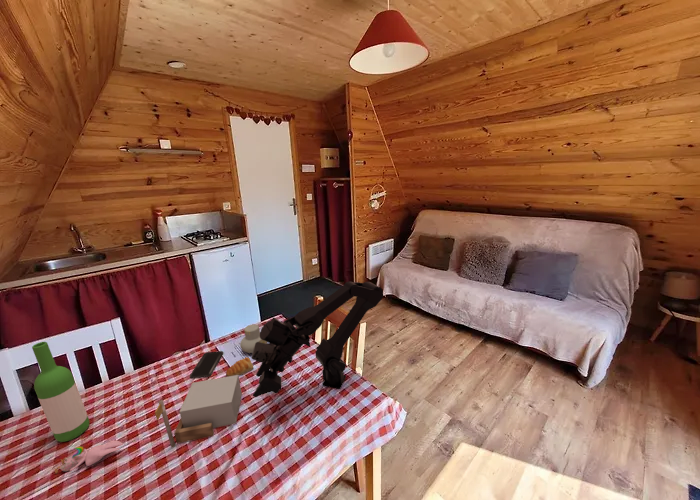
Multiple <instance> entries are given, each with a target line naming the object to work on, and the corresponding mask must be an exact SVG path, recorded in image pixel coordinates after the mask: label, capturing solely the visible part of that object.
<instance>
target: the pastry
mask: <svg viewBox="0 0 700 500" xmlns="http://www.w3.org/2000/svg"><path fill="white" fill-rule="evenodd" d="M253 369H254V365H253V362H252V361H251V358H249V357H247V356H245V357H244V358H242V359H239V360H237V361H236V362H234V364H232V365H230V366H229V367H228V368H227V369H226V372H225V375H226V377H229V376H235V375H238V376H239V377H240V376H242V375H244V374H247V373H249V372H251V371H252V370H253Z"/></svg>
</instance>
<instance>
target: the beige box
mask: <svg viewBox="0 0 700 500" xmlns="http://www.w3.org/2000/svg"><path fill="white" fill-rule="evenodd" d="M242 397H243V393H242V388H241V381H240V375H239V376H238V375H235V376H229V377H228V376H225V377H224V376H223V377H217V378H211V379H207V380H201V381H194V382H192V383H191V385H190V386H189V389H188V393H187V394H186V396H185V399H184V401H183V403H182V406H181V407H180V410H179V416H180V419H181V420H182V423H183V427H184V428H188V427H193V426H198V425H203V424H208V423H212V426H213V429H216V428H220V427H224V426H230V425H231V426H232V425H235V424H237V422H238V421H237V419H238V415H239V412H240V411H239V410H240V406H241V400H242Z"/></svg>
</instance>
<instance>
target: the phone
mask: <svg viewBox="0 0 700 500" xmlns="http://www.w3.org/2000/svg"><path fill="white" fill-rule="evenodd" d="M222 355H224V351H222V350H220V351H218V350H217V351H208V352H204V353H203V355H202V356H201V358H200V359H199V360H198V362H197V363H196V365H195V367H194V369H193V370H192V371H191V373H190V375H189V379H191V380H194V379H202V378H203V379H204V378H209V377H211V376H212V375H213V373H214V372H215V370H216V368H217V366H218V364H219V363H220V361H221V359H222V357H223V356H222Z"/></svg>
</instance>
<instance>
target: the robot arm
mask: <svg viewBox="0 0 700 500" xmlns="http://www.w3.org/2000/svg"><path fill="white" fill-rule="evenodd" d="M353 297H356V298H355V303H354V305H352V307H351V309H350V310H349V312H348V313H347V314H346V316H344V318H343V320H342V322H341V323H340V324H339V326H338V327H337V329H336V330H335V332H334V333H333V335H332V336H331V337H330V338H328V339H325V338H323V339H321V342H320V343H319V344H318V345H317V346H316V347H315V348H316V351H315V359H317V361H318V362H319V364H320V365H321V366H322V380H323V382H322V387H326V388H327V387H328V388H332V389H337V390H340V389H341V388H342V387H343V384H344V382H345V381H346V377H347V375H345V371H346V368H347V364H346V362H344V360H343V359H342V357H343V350H344V346H345V345H346V343H347V342H348V340H349V339H350V338H351V336H352V335H353V333H354V331H355V330H356V328H357V326H358V325H359V324H360V323H361V321H362V320H363V318H364V317H365V315H366V314H367V313H368V311H369V310H371V309H374V308H375V307H377V306H378V304H379V303H380V302H381V301H382V299H383V298H384V290H383V288H382V287H380V286H379V285H376V284H374V283H373V282H370V281H365V282H361V281H360V282H358V281H355V282H353V281H347V282H345V283H344V284H343V285H342V286H341V287H339V288H338V289H337V290H336V291H334V292H333V293H332V294H330V295H329V296H327V297H326V298H324V299H323V300H322V301H321V302H319V303H318V304H316V305H314V306H311V307H306V308H305V309H303V310H300V311H299V312H297V313H296V314H295V315H294V316H291V317H290V318H288V319H286V320H284V321H283V322H282V321H281V320H279V319H277V318H276V317H272V319H271V320H268V321H266V322H265V323H264V324H263V325H262V327H261V329H260V339H262V340H264V341H267V344H265V343H261V342H256V343H255V346H254V349H253V352H252V353H251V358H250V359H252V360H253V361H255V362H257V363H261V364H260V366H259V368H258V370H257V372H256V374H255V375H256V377H258V378H259V380H258V385H257V387H256V389H255V390H254V391H253V394H252V396H253V397H254V398H257V397H260V396H263V395H265V394H268V393H271V392H272V393H274V394H278V393H279V392H280V391H281V390H282V387H283V386H282V384H283V381H282V379H283V378H282V376H281V375H279V374H278V372H280V373H283V372H284V371H285V366H286V365H287V364H288V363H290V364H291V363H292V362H293V359H294V358H293V357H294V356H295V355H296V353H297V352H299V350H300V348H302V347H303V345H304V346H307V347H311V343H310V342H311V341H310V340H311V338H310V336H312V335H313V334H315V332H317V330H318V329H319V328H321V326H322V324H323V323H324V321H325V319H327V318H328V317H329V316H330V315H331V314H333V313H334V312H336V310H338V309H339V308H341V307H342V306H343V305H344V304H346V303H347V302H348V301H350V300H351V299H353Z"/></svg>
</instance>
